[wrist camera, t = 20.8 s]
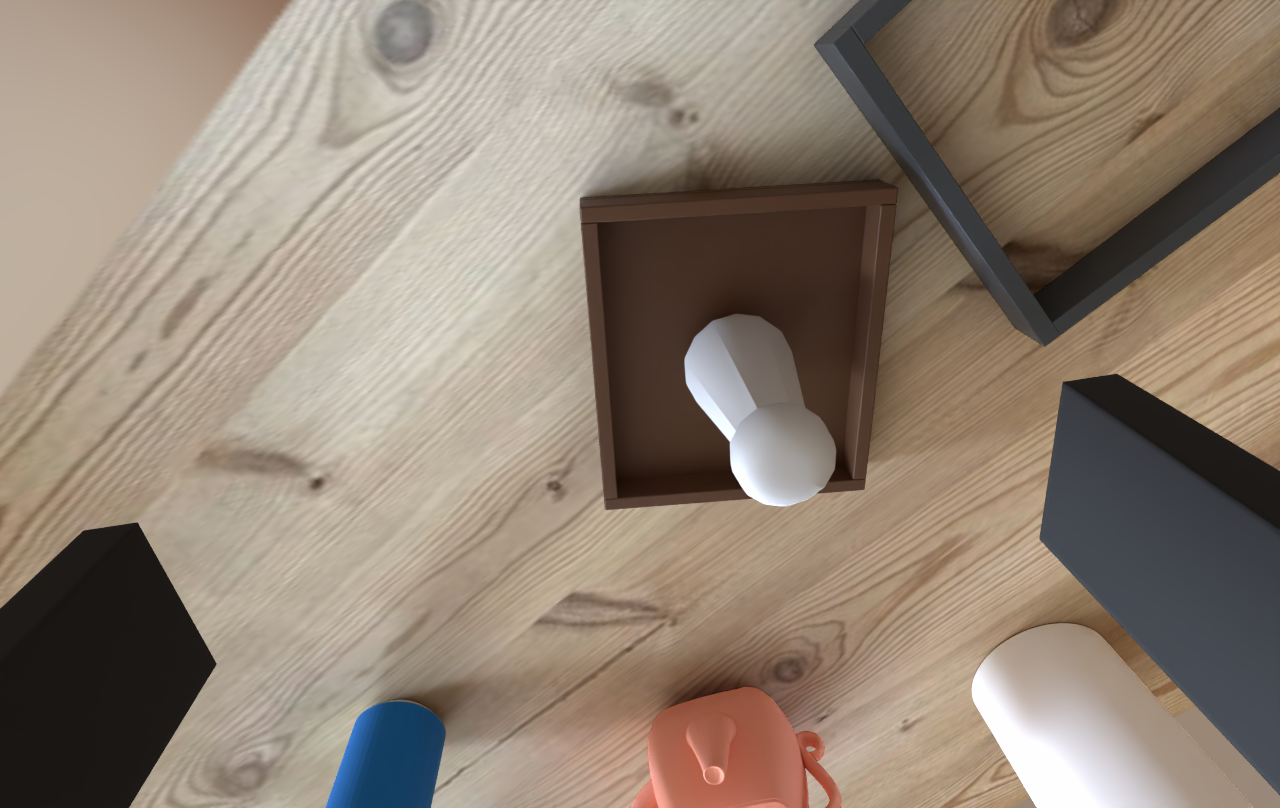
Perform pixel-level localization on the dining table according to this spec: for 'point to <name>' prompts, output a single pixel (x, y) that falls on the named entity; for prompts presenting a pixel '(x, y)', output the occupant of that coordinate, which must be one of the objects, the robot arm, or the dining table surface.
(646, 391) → the tray
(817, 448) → the salt shaker
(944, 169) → the open gray frame
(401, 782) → the beverage can
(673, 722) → the teapot
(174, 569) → the dining table surface
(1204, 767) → the tall pillar cylinder
